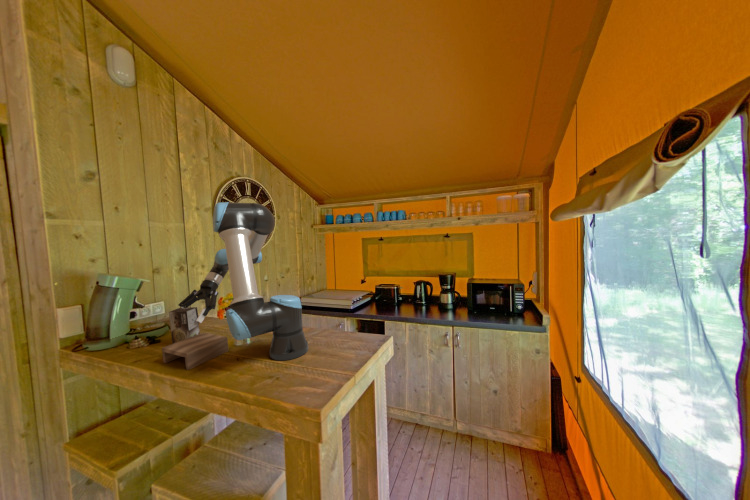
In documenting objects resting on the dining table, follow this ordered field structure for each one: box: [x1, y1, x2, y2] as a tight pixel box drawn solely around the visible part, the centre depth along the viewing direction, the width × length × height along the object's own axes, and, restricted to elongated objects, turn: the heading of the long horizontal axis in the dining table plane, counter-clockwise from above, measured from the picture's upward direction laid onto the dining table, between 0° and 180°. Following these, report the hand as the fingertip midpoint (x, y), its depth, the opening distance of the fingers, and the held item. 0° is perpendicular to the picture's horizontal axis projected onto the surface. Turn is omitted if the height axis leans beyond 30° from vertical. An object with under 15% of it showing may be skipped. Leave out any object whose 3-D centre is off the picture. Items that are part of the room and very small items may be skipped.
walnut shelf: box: [161, 332, 229, 371], centre depth 106 cm, size 16×16×6 cm
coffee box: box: [168, 306, 201, 344], centre depth 120 cm, size 9×6×16 cm
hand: (186, 321), depth 122 cm, fingers open, 13 cm apart
